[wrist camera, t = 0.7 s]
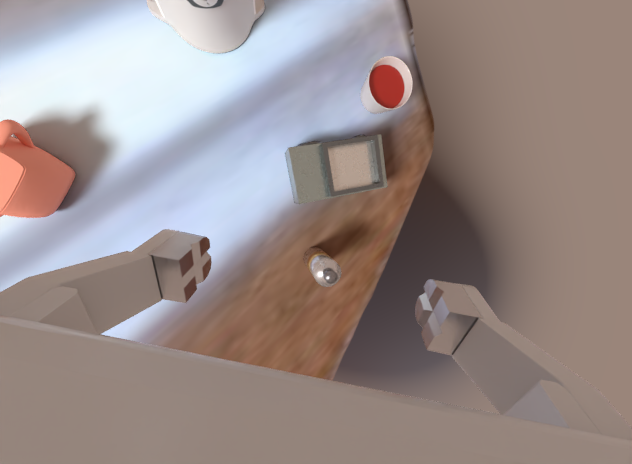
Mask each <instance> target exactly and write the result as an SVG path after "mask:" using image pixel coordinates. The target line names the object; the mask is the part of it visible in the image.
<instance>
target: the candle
mask: <svg viewBox="0 0 632 464" xmlns="http://www.w3.org/2000/svg"><path fill="white" fill-rule="evenodd" d="M411 92H412V76H411V73H410V70H409V68H408V67H407V65H406V64H405V63H404V62H403V61H402V60H400V59H399V58H396V57H393V56H386V57H383V58H381V59H379V60H378V61H377V62H376V63H375V64H374V65H373V66H372V68H371V70H370V72H369V74H368V76H367V78H366V80H365V82H364V84H363V86H362V88H361V93H360V98H361V102H362V105H363V106H364V108H365V109H366V110H367V111H369V112H370V113H374V114H379V113H383V112H387V111H390V110H394V109H397V108H399V107H401V106H403V105H404V104H405V103H406V102H407V100H408V99H409V97H410V95H411Z"/></svg>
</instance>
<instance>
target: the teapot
mask: <svg viewBox="0 0 632 464" xmlns="http://www.w3.org/2000/svg"><path fill="white" fill-rule="evenodd" d="M12 134H14V135H16V136H17V138H18V139H17V138H14V137H11V135H12ZM74 178H75V172H74V170H73V169H72V168H71V167H69V166H68V165H67V164H65V163H64V162H62V161H61V160H59V159H58V158H56V157H54V156H53V155H51V154H49V153H48V152H46V151H44V150H42V149H40V148H38V147H36V146H34V144H33V142H32V140H31V138H30V136H29V134H28V132H27V131H26V129H25V128H24V127H23V126H22V125H20V124H19V123H17V122H16V121H13V120H3V121H1V122H0V217H1V216H3V215H9V216H16V217H27V218H39V217H46V216H49V215H51V214H53V213H54V212H55V211H56V210H57V209H58V207H59V206H60V204H61V203H62V201H63V199H64V198H65V196H66V194H67V193H68V191H69V189H70V187H71V185H72V183H73V180H74Z"/></svg>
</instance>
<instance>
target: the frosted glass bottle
mask: <svg viewBox="0 0 632 464" xmlns="http://www.w3.org/2000/svg"><path fill="white" fill-rule="evenodd" d="M304 263H305V264H306V266H307V267H308V269H309V271H310V272H311V274H312V275H313V276H314V278H315V279H316V281H317V282H318V283H319V284H320V285H321V286H324V287H329V286H333V285H334V284H336V283H337V282H338V281H339V279H340V277H341V268H340V266H339V265H338V264H337V263H336V262H335V261H334V260H333V259H332V258H331V257H330V256H329V255H328V254H326V253H325V252H324V251H323V250H322V249H320V248H318V247H312V248H309V249H308V250H307V251H306V252H305V254H304Z"/></svg>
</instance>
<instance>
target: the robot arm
mask: <svg viewBox="0 0 632 464" xmlns="http://www.w3.org/2000/svg"><path fill="white" fill-rule="evenodd" d="M147 5H148V8H149V10H150V12H151V13H152V15H154V16H155V17H156V18H158V19H159V20H161V21H163V22H165V23H167V24H168V25H170V26H171V27H172V28H173V29H174V30H175V31H176V33H177V34H178V35H179V36H180V37H181V38H182V39H183V40H185V41H186V42H187V43H189V44H190V45H192V46H193V47H195V48H197V49H199V50H202V51H205V52H209V53H225V52H229V51H232V50H234V49H236V48H237V47H239V46H240V45H241V44H242V43H243V42H244V41H245V40H246V38H247V37H248V35H249V33H250V30H251V28H252V25H253V23H254V21H255V20H256V19H258V18H259V17H260V16H261V15H262V13H263V12H264V10H265V5H264V0H147ZM209 248H210V242H209V239H208V238H207V237H204V236H199V235H195V234H190V233H185V232H179V231H175V230H170V229H165V230H162V231H161V232H159V233H158V234H156V235H155V236H154V237H152V238H151V239H149V240H148V241H146V242H145V243H143V244H142V245H141V246H139V247H138V248H136V249H135V250H133V251H132V252H129V251H125V252H121V253H118V254H114V255H110V256H106V257H103V258H99V259H95V260H91V261H88V262H84V263H80V264H76V265H73V266H69V267H65V268H61V269H58V270H54V271H50V272H46V273H43V274H39V275H35V276H32V277H28V278H26V279H24V280H22V281H20V282H18V283H16V284H15V285H13V286H11V287H9V288H7V289H5V290H4V291H2V292H0V464H632V427H631V426H630V425H629V424H628V423H627V422H626V421H625V419H624V418H623V417H622V416H621V415H620V414H619V413H618V411H617V410H616V409H615V408H614V407H613V406H612V405H611V404H610V402H609V401H608V400H607V399H606V398H605V397H604V396H603V394H602V393H601V392H600V391H599V390H598V389H597V388H595V387H594V386H593V385H591V384H590V383H588V382H587V381H585V380H584V379H583V378H581V377H580V376H578V375H577V374H576V373H574V372H573V371H571V370H570V369H569V368H567V367H566V366H564V365H563V364H562V363H560V362H559V361H557V360H556V359H555V358H553V357H552V356H550V355H549V354H547V353H546V352H545V351H543V350H542V349H541V348H539V347H538V346H536V345H535V344H534V343H532V342H531V341H529V340H528V339H527V338H525V337H524V336H522V335H521V334H520V333H518V332H517V331H515V330H514V329H513V328H511V327H510V326H508V325H507V324H506V323H501V322H500V321H499V320H498V318H497V317H496V315H495V314H494V313H493V311H492V310H491V308H490V307H489V306H488V304H487V303H486V301H485V300H484V299H483V297H482V296H481V294H480V293H479V291H478V290H477V289H476V288H475V287H473V286H469V285H462V284H454V283H449V282H443V281H437V280H432V279H429V280H428V281H427V282H426V284H425V286H424V290H425V293H424V294H423V295H421V296H419V298H418V300H417V303H416V308H415V313H416V319H417V322H418V323H419V324H420V325H421V326H422V327H423V330H422V332H421V334H422V337H423V340H424V343H425V346H426V349H427V350H430V351H435V352H439V353H443V354H448V355H452V357H453V359H454V360H455V361H456V362H457V363H458V364H459V366H460V367H461V368H462V369H463V370H464V372H465V373H466V374H467V375H468V376H469V378H470V379H471V380H472V381H473V382H474V383H475V385H476V386H477V387H478V388H479V389H480V390H481V391H482V393H483V394H484V395H485V396H486V397H487V399H488V400H489V401H490V402H491V403H492V405H493V406H494V407H495V408H496V409H497V410H498V412H499V413H500V414H496V413H491V412H486V411H481V410H476V409H471V408H466V407H461V406H456V405H451V404H446V403H441V402H436V401H431V400H426V399H421V398H416V397H410V396H406V395H400V394H396V393H391V392H385V391H380V390H376V389H371V388H365V387H361V386H355V385H350V384H345V383H340V382H335V381H330V380H325V379H320V378H315V377H310V376H305V375H300V374H295V373H290V372H285V371H280V370H275V369H270V368H265V367H260V366H255V365H250V364H245V363H240V362H235V361H230V360H225V359H220V358H215V357H210V356H205V355H200V354H195V353H190V352H185V351H180V350H175V349H170V348H165V347H160V346H155V345H150V344H145V343H140V342H135V341H130V340H125V339H120V338H115V337H110V336H105V335H100V334H101V333H103V332H105V331H107V330H109V329H110V328H112V327H114V326H116V325H118V324H120V323H121V322H123V321H125V320H127V319H129V318H130V317H132V316H134V315H136V314H138V313H139V312H141V311H143V310H145V309H147V308H148V307H150V306H152V305H154V304H156V303H158V302H159V301H161V300H162V299H165V300H171V301H177V302H183V303H186V302H187V301H188V300H189V299H190V298H191V296H192V295H193V294H194V293H195V291H196V290H197V286H196V284H198V283H201V282H203V281H204V280H205V279H206V277H207V276H208V274H209V271H210V269H211V256H210V255H209V254H208V253H207V250H208V249H209Z"/></svg>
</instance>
